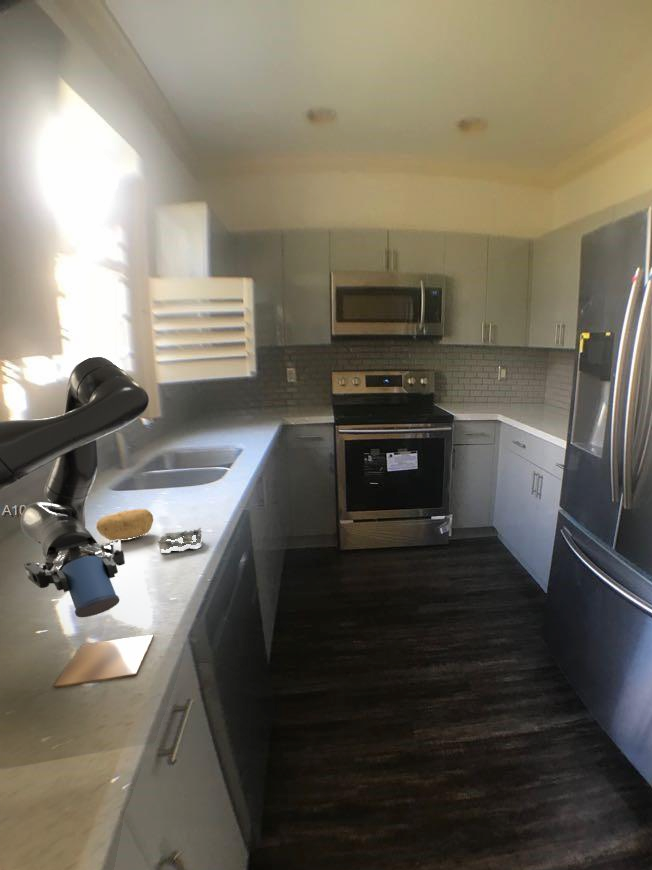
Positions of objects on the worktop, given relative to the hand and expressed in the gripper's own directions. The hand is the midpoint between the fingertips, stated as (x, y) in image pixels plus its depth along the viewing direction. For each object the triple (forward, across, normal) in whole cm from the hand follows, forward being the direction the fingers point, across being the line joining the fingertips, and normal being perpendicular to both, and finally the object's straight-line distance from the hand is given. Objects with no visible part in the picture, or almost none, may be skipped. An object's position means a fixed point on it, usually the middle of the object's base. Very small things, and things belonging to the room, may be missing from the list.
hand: (89, 578), depth 68 cm
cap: (+2, 0, +4) cm, 5 cm away
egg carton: (-45, +26, +18) cm, 55 cm away
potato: (-61, +17, +18) cm, 66 cm away
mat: (-5, 0, +18) cm, 19 cm away
